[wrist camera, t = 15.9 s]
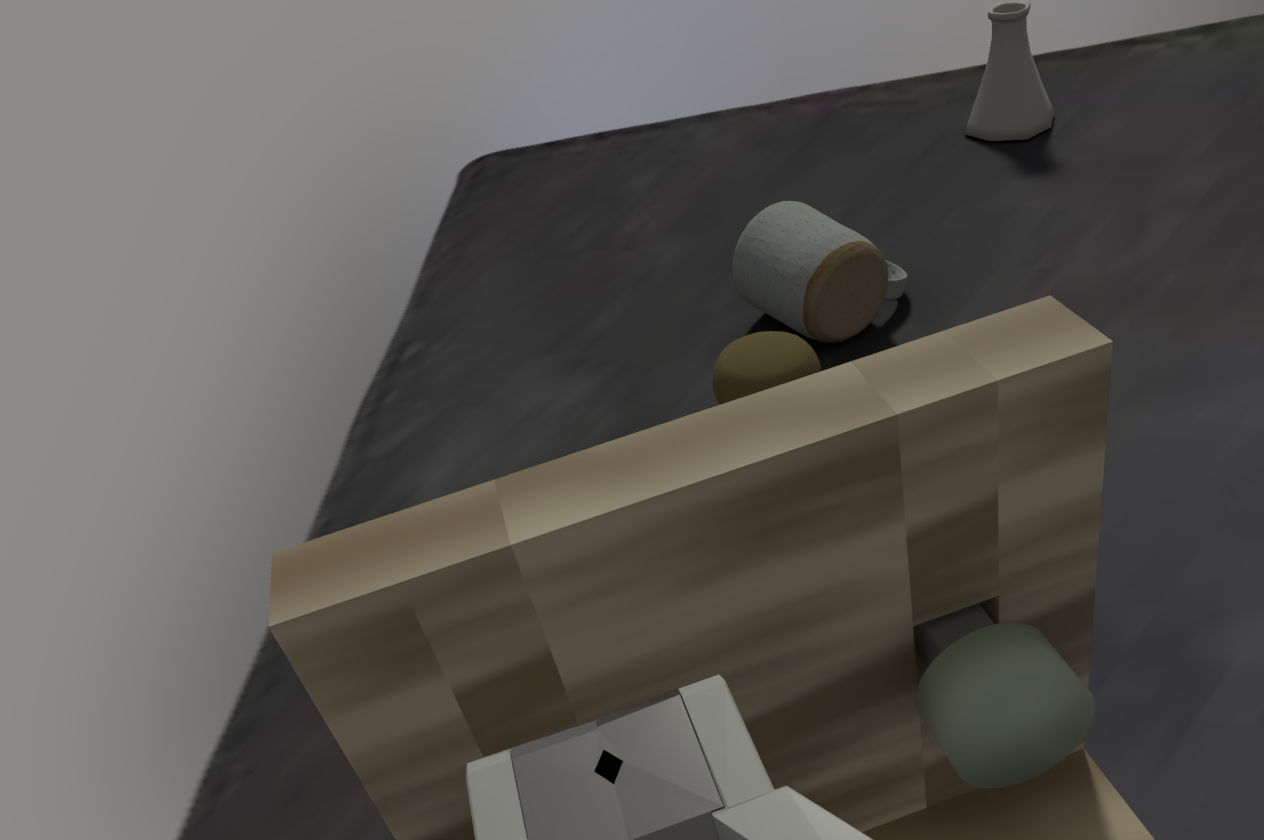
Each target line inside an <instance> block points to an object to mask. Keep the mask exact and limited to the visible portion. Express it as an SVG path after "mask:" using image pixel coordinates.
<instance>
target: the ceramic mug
mask: <svg viewBox="0 0 1264 840" xmlns="http://www.w3.org/2000/svg"><path fill="white" fill-rule="evenodd" d="M733 278H734V282H735V285H736V288H737V290H738V291H739V293H740V295H741V296H742V298H743V299H744V300H746V301H747V302H748V303H749V304H751V305H752V306H754V307H756V308H758V309H760V310H761V311H763V312H765V313H766V314H768V315H770V316H771V317H773V318H775V319H777V320H778V321H780V322H782V323H784V324H786V325H787V326H789V327H791V328H792V329H794V330H795V331H797V332H799V333H800V334H802V335H804V336H806V337H808V338H811V339H814V340H817V341H820V342H825V343H835V342H842V341H845V340H847V339H849V338H851V337H853V336H855V335H857V334H858V333H860V332H861V331H862V330H863V329H865V328H866V327H867V326H868V325H869V323H870V322H871V321H872V320H873V319H874V318H875V316H876V315H877V313H878V311H879V310H880V308H881V306H882V304H883V301H891V300H895V299H898V298H900V297H901V296H902V294H903V291H904V289H905V286H906V282H907V274H906V272H905V271H904V270H903V269H901V268H899V267H898V266H897V265H895V264H893V263H890V262H888V261H886V260H885V258H884V256H883V255H882V253H881V252H880V251H879V250H878V249H877V248H876V246H875V245H874V244H872V243H871V242H870V241H869V240H868V239H866V238H865V237H863V236H862V235H860V234H859V233H857V232H855V231H853V230H851V229H849V228H847V227H845V226H843V225H841V224H839V223H838V222H836V221H834V220H832V219H831V218H829V217H827V216H826V215H824V214H822V213H820V212H819V211H817V210H815V209H814V208H812V207H810V206H808V205H806V204H804V203H801V202H796V201H782V202H779V203H776V204H773V205H771V206H769V207H767V208H766V209H764V210H762V211H761V212H760V213H759V214H758V215H756V216H755V217H754V218H753V219H752V220H751V221H750V223H749V224H748V225H747V227H746V228H745V229H744V231H743V233H742V235H741V237H740V239H739V241H738V243H737V246H736V249H735V252H734V257H733Z"/></svg>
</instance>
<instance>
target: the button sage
mask: <svg viewBox="0 0 1264 840" xmlns="http://www.w3.org/2000/svg"><path fill="white" fill-rule="evenodd" d="M913 633H914V646H915V650H916V652H917V653H918V654H919V656H920V657H921V659H922V660H923V662H924V663H925V665H926V666H927V670H926V671H925V673H924V674H923V676H922V678H921V680H920V682H919V685H918V688H917V693H916V706H917V709H918V712H919V714H920V715H921V717H922V718H923V720H924V722H925V723H926V725H927V726H928V728H929V729H930V731H931V733H932V734H933V736H934V737H935V739H936V741H937V742H938V744H939V745H940V747H941V748H942V750H943V752H944V753H945V755H946V756H947V758H948V759H949V761H950V763H951V764H952V766H953V767H954V769H955V770H956V772H957V774H958V775H959V776H960V778H961V779H962V780H963V781H965V782H966V783H968V784H970V785H972V786H975V787H979V788H989V789H992V788H1002V787H1008V786H1012V785H1016V784H1019V783H1022V782H1025V781H1027V780H1030V779H1032V778H1034V777H1036V776H1038V775H1040V774H1042V773H1044V772H1045V771H1047V770H1049V769H1050V768H1052V767H1053V766H1055V765H1056V764H1058V763H1059V762H1060V761H1061V760H1063V759H1064V758H1065V757H1066V756H1067V755H1068V754H1070V753H1071V752H1072V751H1073V750H1074V749H1075V747H1076V746H1077V745H1078V744H1079V743H1080V742H1081V740H1082V739H1083V738H1084V736H1085V735H1086V733H1087V732H1088V730H1089V728H1090V726H1091V724H1092V721H1093V718H1094V714H1095V701H1094V697H1093V695H1092V693H1091V692H1090V691H1089V689H1088V688H1087V687H1086V686H1085V685H1084V683H1083V682H1082V681H1081V680H1080V679H1079V677H1078V676H1077V675H1076V674H1075V672H1074V671H1073V670H1072V669H1071V668H1070V666H1069V665H1068V664H1067V663H1066V662H1065V660H1064V659H1063V658H1062V657H1061V656H1060V654H1059V653H1058V652H1057V651H1056V650H1055V648H1054V647H1053V646H1052V645H1051V644H1050V642H1049V641H1048V640H1047V639H1046V638H1045V636H1044V635H1043V634H1042V633H1041V632H1040V631H1039V630H1038V629H1036V628H1035V627H1033V626H1031V625H1027V624H1024V623H1017V622H1007V623H999V624H994V622H993V621H992V620H991V619H990V617H989V616H988V615H987V614H986V612H985V611H984V610H983V608H982V607H981V606H980V605H979V603H977V604H974V605H971V606H968V607H966V608H963V609H960V610H957V611H954V612H952V613H949V614H946V615H943V616H941V617H938V618H935V619H932V620H929V621H927V622H924V623H921V624H918V625H915V626H913Z"/></svg>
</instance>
